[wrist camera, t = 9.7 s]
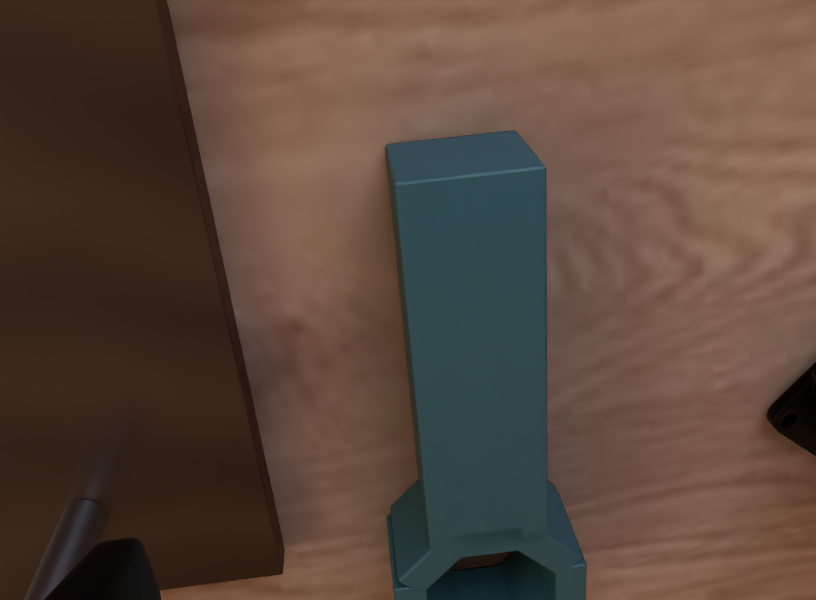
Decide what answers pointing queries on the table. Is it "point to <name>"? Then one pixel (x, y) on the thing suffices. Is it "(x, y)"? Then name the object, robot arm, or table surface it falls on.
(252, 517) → the brown peg board
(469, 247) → the teal ring spanner
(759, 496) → the table surface
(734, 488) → the table surface
